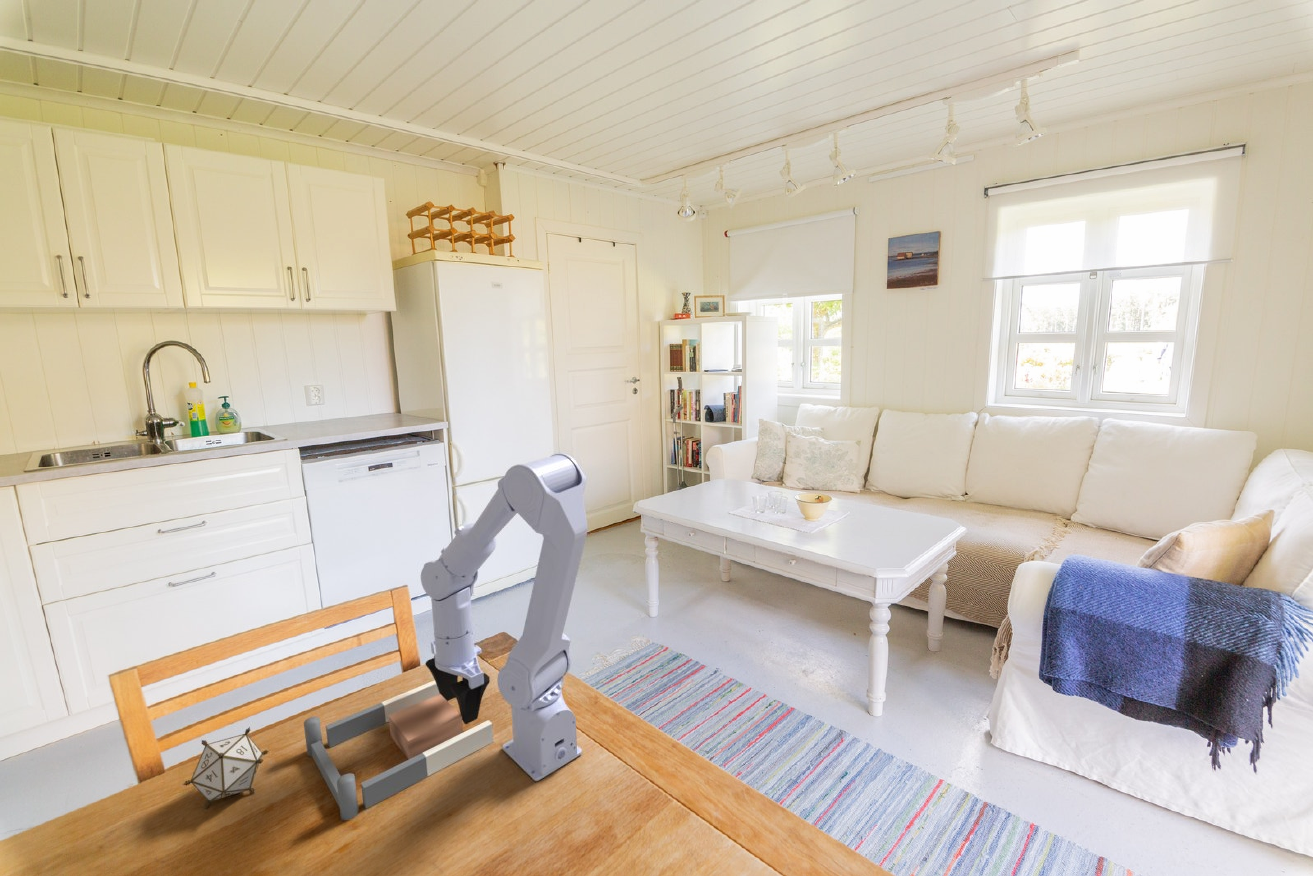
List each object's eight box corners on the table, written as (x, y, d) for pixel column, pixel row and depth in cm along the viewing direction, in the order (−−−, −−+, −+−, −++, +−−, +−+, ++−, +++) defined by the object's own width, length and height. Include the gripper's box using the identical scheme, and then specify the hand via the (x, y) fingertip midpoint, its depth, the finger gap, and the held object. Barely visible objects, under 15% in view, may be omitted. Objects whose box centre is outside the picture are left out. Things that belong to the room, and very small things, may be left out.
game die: (241, 825, 76) (225, 803, 70) (179, 804, 76) (157, 781, 70) (287, 755, 83) (276, 729, 77) (230, 736, 83) (215, 708, 76)
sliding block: (463, 737, 88) (461, 716, 87) (410, 763, 82) (408, 741, 82) (441, 713, 94) (440, 693, 93) (390, 736, 88) (388, 715, 88)
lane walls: (493, 741, 86) (492, 723, 86) (427, 776, 80) (425, 757, 79) (443, 693, 99) (442, 677, 98) (383, 719, 92) (381, 702, 91)
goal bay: (428, 778, 79) (426, 745, 78) (343, 823, 72) (339, 787, 71) (382, 718, 92) (379, 690, 91) (305, 751, 85) (302, 721, 84)
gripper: (500, 637, 87) (504, 719, 89) (457, 607, 97) (463, 680, 100) (455, 655, 82) (461, 740, 84) (415, 621, 93) (422, 698, 95)
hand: (459, 709), depth 92 cm, fingers open, 7 cm apart
